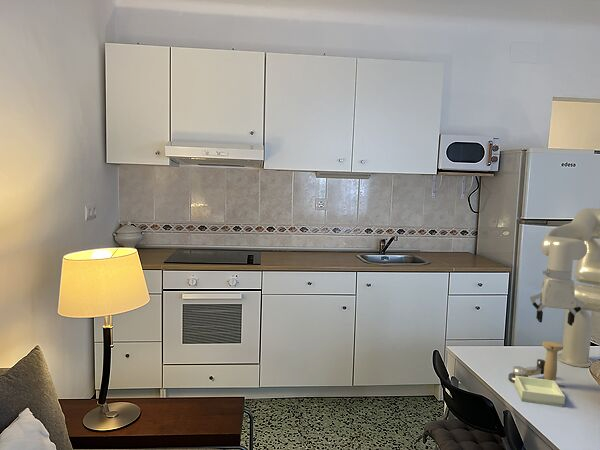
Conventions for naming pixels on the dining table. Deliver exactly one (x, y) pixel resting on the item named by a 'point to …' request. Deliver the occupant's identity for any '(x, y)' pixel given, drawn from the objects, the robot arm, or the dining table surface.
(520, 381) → the tray
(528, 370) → the crank
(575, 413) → the dining table surface
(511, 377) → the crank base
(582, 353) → the robot arm
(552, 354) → the handle
